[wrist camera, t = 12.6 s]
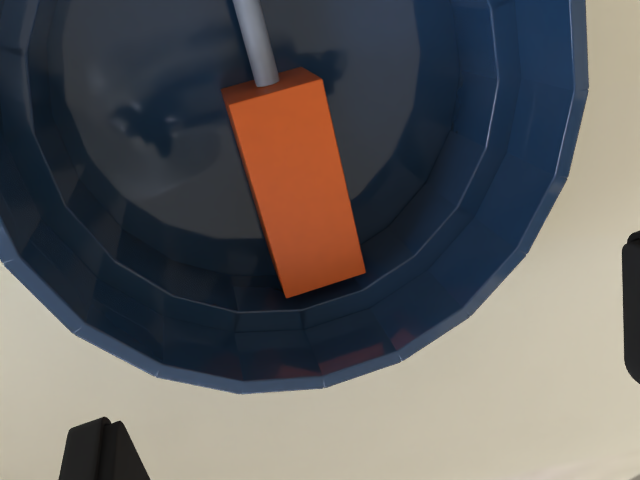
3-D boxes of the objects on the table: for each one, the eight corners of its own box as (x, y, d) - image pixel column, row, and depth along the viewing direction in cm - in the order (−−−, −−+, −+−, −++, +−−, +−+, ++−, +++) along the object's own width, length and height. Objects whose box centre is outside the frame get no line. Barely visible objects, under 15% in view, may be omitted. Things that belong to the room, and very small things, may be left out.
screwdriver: (343, 239, 24) (366, 273, 22) (272, 262, 24) (285, 299, 21) (257, -123, 19) (272, -143, 16) (163, -100, 19) (162, -116, 16)
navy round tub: (120, 351, 25) (104, 464, 19) (-95, -123, 17) (-228, -179, 12) (503, 228, 26) (597, 295, 21) (451, -244, 19) (573, -345, 14)
